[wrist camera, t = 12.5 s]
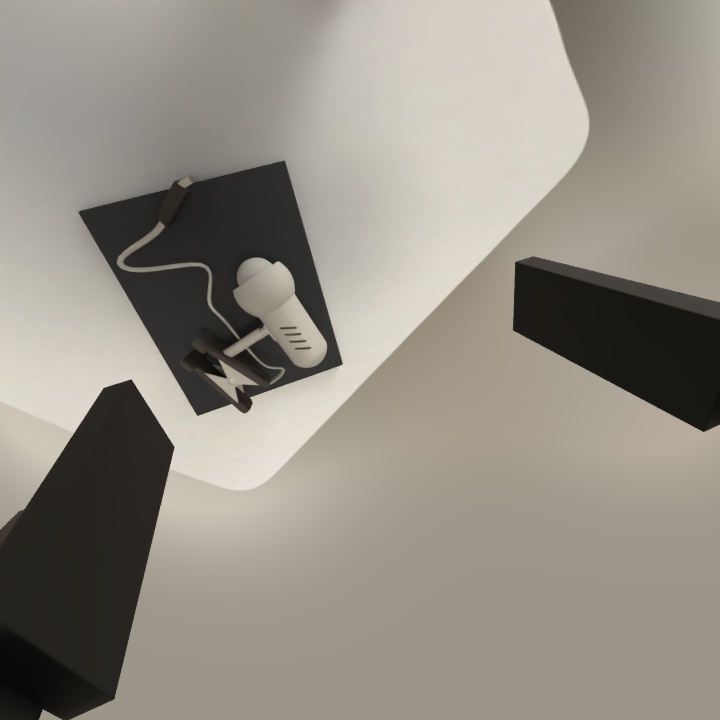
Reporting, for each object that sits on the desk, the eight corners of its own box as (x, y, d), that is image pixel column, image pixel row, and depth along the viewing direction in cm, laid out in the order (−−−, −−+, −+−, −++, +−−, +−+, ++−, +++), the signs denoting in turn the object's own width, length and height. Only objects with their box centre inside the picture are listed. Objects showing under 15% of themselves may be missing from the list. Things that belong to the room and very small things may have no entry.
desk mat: (80, 211, 26) (77, 211, 26) (284, 161, 29) (284, 160, 28) (197, 412, 36) (197, 416, 36) (341, 362, 39) (342, 364, 38)
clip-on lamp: (112, 246, 30) (243, 403, 36) (60, 246, 24) (228, 436, 30) (224, 168, 29) (340, 343, 35) (199, 148, 23) (344, 363, 29)
